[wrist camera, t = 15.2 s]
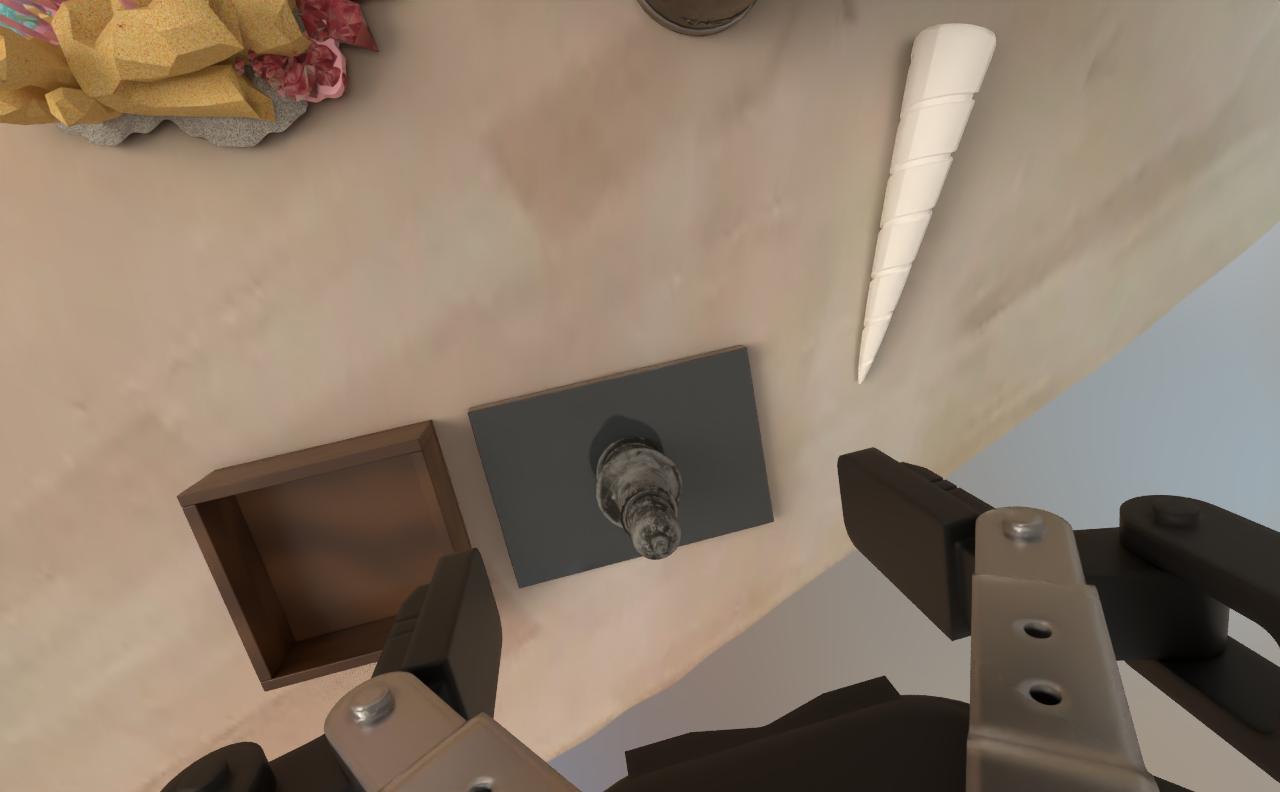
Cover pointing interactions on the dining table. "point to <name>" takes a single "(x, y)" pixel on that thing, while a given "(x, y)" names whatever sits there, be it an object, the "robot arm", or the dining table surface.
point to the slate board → (589, 423)
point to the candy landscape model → (173, 64)
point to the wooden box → (325, 546)
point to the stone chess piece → (641, 494)
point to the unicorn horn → (922, 160)
